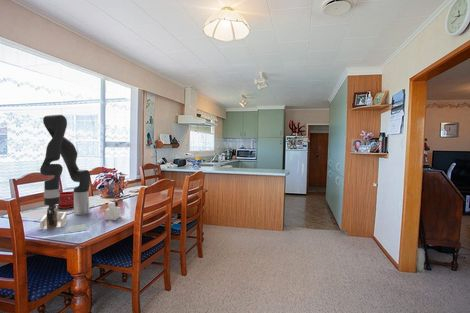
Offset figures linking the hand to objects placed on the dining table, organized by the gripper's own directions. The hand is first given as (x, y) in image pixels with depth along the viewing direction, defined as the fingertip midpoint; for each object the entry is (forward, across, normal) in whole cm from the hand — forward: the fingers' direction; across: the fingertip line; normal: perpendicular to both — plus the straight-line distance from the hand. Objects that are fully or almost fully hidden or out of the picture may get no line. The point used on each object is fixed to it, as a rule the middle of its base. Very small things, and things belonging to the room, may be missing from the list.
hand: (52, 223), depth 140 cm
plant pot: (+3, +52, -1) cm, 52 cm away
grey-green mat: (+3, -8, -13) cm, 16 cm away
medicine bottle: (+3, +6, -33) cm, 34 cm away
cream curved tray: (+3, +5, 0) cm, 6 cm away
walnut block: (+2, 0, 0) cm, 2 cm away
